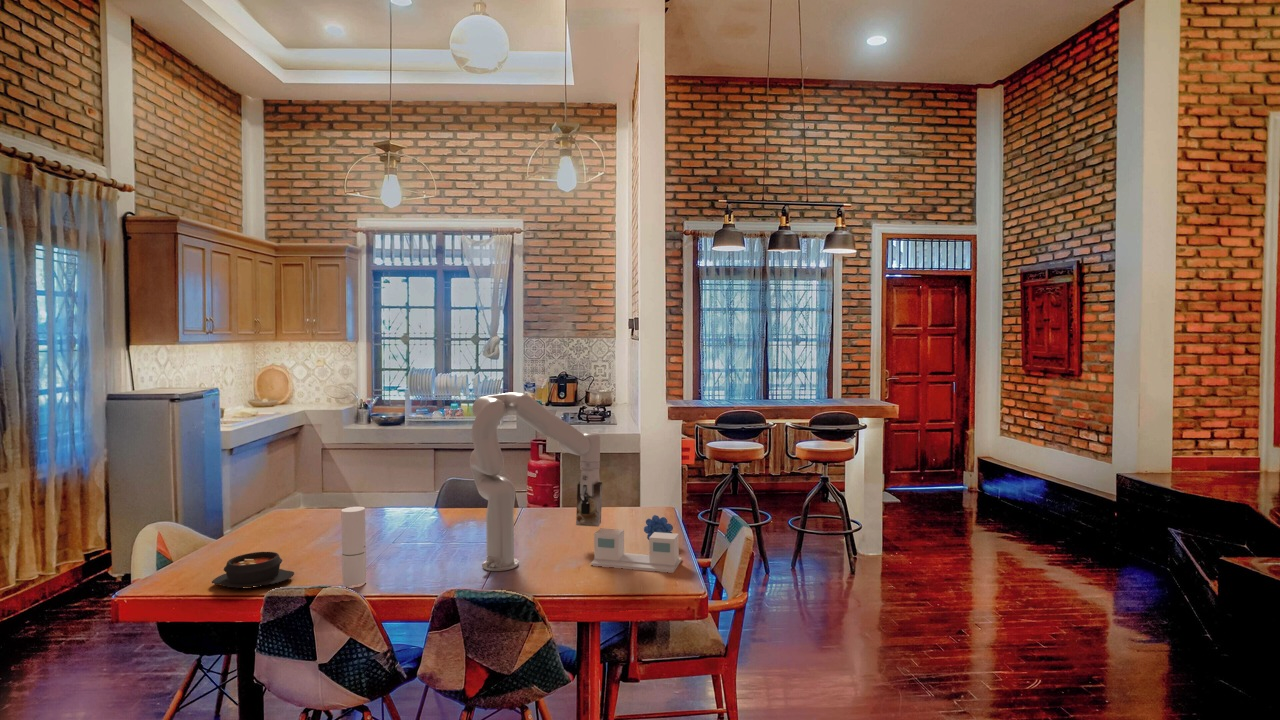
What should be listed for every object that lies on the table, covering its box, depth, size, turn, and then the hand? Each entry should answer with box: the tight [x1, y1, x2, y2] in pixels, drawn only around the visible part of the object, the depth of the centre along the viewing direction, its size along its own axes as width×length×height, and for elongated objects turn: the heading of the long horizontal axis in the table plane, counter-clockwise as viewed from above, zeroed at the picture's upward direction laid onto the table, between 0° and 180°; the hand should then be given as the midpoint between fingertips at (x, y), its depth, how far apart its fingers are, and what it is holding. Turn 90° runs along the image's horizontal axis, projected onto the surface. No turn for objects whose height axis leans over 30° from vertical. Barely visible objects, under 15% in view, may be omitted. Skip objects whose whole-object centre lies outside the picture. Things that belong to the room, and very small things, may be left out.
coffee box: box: [575, 480, 603, 528], centre depth 257 cm, size 9×6×16 cm
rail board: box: [590, 528, 683, 574], centre depth 239 cm, size 14×30×11 cm, turn 74°
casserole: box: [211, 551, 295, 589], centre depth 223 cm, size 25×19×8 cm
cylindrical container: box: [340, 506, 367, 587], centre depth 220 cm, size 7×7×25 cm
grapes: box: [643, 514, 674, 541], centre depth 259 cm, size 12×7×12 cm, turn 92°
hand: (588, 511), depth 257 cm, fingers closed on coffee box, 7 cm apart
